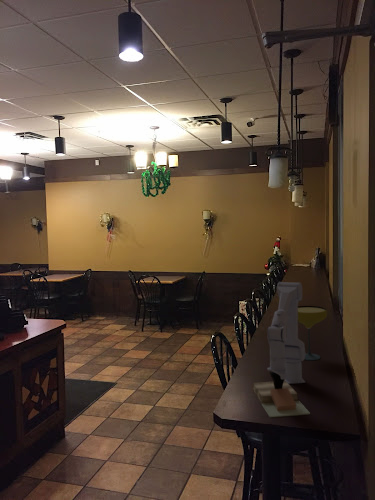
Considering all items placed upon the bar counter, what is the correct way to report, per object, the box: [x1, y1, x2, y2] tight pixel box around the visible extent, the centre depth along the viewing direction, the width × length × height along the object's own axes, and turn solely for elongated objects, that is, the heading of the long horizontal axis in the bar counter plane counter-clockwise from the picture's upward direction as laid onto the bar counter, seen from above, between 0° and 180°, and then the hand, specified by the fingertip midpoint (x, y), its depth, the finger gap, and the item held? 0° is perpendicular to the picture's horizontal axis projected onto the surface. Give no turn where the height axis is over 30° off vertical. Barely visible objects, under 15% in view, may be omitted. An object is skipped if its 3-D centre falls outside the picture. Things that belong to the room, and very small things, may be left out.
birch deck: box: [252, 380, 298, 404], centre depth 168 cm, size 14×14×3 cm
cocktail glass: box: [298, 305, 328, 361], centre depth 213 cm, size 18×18×25 cm
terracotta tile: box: [270, 388, 296, 411], centre depth 157 cm, size 9×7×2 cm
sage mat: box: [260, 400, 311, 419], centre depth 155 cm, size 11×15×1 cm
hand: (278, 390), depth 162 cm, fingers closed
